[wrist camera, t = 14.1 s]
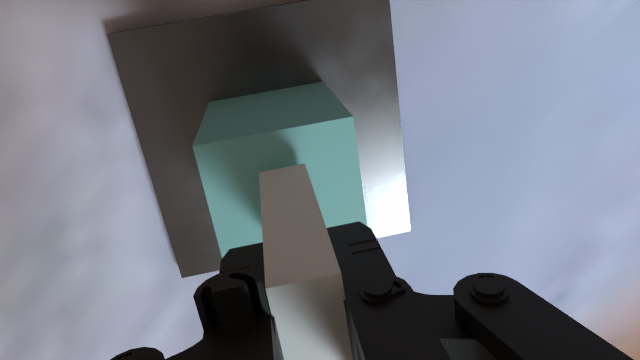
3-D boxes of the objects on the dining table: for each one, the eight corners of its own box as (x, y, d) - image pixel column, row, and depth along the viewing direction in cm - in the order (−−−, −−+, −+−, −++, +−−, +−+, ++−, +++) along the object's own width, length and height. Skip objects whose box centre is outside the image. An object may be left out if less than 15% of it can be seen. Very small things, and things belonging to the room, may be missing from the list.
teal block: (208, 102, 21) (192, 146, 15) (323, 81, 22) (353, 116, 16) (234, 206, 23) (229, 284, 17) (338, 185, 24) (371, 254, 17)
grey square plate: (112, 32, 21) (57, 47, 15) (383, -13, 21) (433, -16, 16) (184, 269, 25) (164, 352, 19) (405, 224, 26) (451, 290, 20)
